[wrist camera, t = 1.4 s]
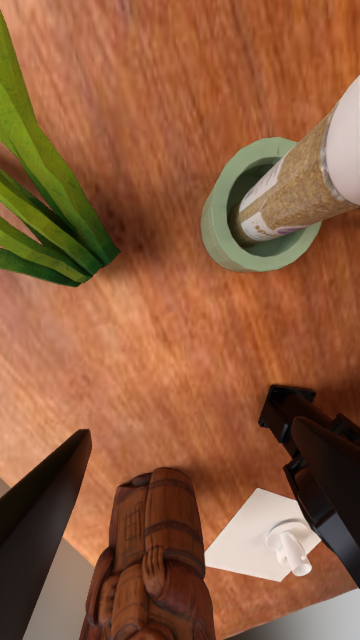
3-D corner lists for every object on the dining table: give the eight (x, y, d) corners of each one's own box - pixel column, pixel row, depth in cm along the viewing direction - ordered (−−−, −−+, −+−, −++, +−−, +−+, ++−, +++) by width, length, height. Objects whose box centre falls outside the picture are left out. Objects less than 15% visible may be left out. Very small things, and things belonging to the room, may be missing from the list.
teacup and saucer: (286, 554, 33) (303, 591, 29) (253, 545, 32) (266, 584, 28) (315, 524, 32) (336, 559, 28) (281, 513, 30) (299, 549, 26)
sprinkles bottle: (232, 255, 19) (389, 209, 6) (218, 210, 17) (374, 20, 4) (272, 237, 18) (527, 148, 5) (261, 191, 17) (549, -62, 4)
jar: (300, 185, 18) (344, 156, 13) (272, 279, 20) (302, 280, 16) (212, 160, 17) (228, 119, 12) (192, 262, 19) (200, 259, 14)
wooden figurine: (184, 458, 25) (225, 856, 8) (197, 487, 27) (254, 870, 10) (107, 484, 25) (-19, 937, 8) (124, 512, 27) (52, 937, 10)
